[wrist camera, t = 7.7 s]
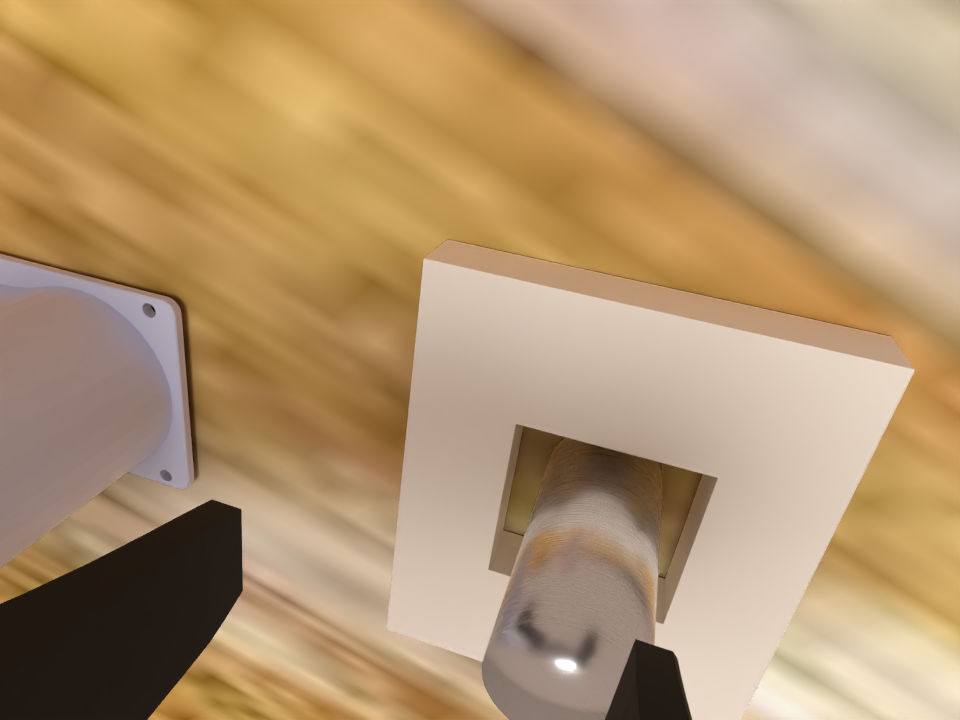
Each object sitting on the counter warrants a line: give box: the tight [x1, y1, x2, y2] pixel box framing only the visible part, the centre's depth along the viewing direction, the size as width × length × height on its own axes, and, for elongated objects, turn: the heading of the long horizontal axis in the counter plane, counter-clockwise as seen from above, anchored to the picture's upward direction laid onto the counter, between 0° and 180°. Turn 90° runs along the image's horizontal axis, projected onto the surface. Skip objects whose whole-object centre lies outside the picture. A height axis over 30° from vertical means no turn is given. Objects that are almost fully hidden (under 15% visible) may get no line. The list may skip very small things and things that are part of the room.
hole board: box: [387, 239, 915, 720], centre depth 20 cm, size 12×14×2 cm
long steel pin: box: [482, 437, 663, 720], centre depth 17 cm, size 4×4×8 cm
